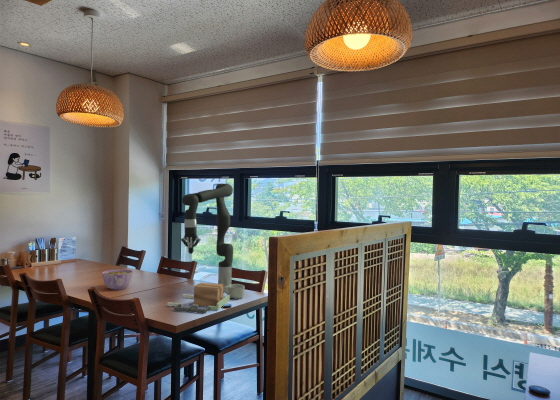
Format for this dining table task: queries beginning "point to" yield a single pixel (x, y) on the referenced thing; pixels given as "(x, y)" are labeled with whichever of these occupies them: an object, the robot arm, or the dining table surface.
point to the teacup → (235, 290)
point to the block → (208, 294)
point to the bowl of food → (117, 278)
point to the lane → (195, 307)
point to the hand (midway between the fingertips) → (190, 253)
